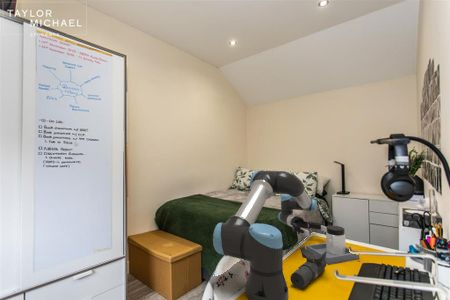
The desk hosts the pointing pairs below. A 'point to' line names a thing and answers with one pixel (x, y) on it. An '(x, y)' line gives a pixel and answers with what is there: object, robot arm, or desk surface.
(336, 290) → the desk surface
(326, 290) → the desk surface
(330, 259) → the tray
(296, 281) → the laser sight
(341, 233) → the jar
